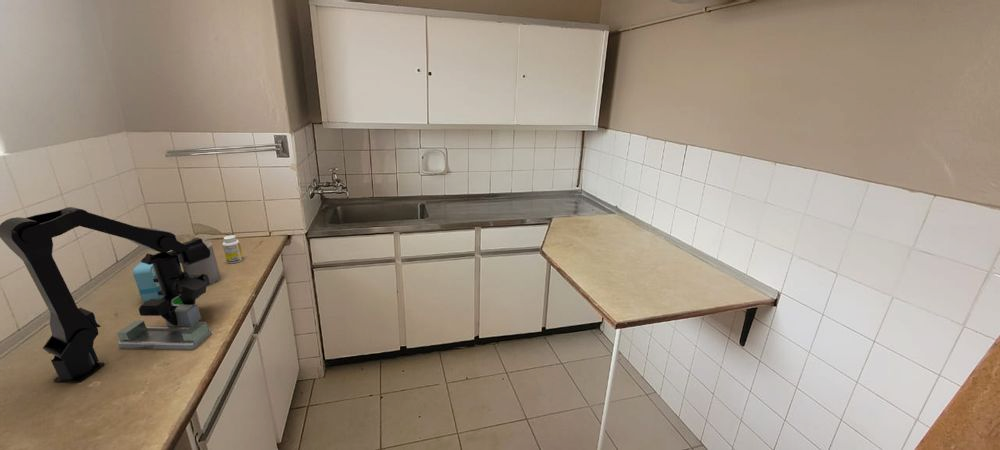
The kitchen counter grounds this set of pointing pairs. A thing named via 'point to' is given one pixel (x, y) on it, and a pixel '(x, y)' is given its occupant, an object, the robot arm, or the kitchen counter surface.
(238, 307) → the kitchen counter surface
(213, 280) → the pillar candle
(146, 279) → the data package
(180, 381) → the kitchen counter surface
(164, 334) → the rail
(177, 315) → the block
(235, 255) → the supplement bottle
